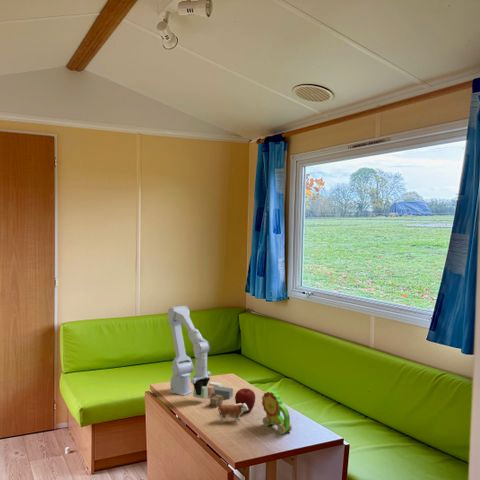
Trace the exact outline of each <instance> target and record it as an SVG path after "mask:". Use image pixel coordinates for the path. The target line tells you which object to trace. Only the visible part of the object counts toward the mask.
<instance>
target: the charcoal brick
mask: <svg viewBox="0 0 480 480" xmlns="http://www.w3.org/2000/svg"><path fill="white" fill-rule="evenodd" d="M233 394H234V389H233V387H225V386H222V387H217V388H216V389H215V392H214V394H213V395H214V396H215V395H221V396H223V399H226V400H231V398H232V397H233V396H234V395H233ZM214 396H213V397H214Z"/></svg>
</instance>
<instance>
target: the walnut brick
mask: <svg viewBox="0 0 480 480" xmlns="http://www.w3.org/2000/svg"><path fill="white" fill-rule="evenodd" d="M214 395H215V394H214ZM223 399H224V398H223V396H221V395H215V396H212V397H210V400H209V407H211V408H214V409H216V408H217V409H218V407H219V406H220V405H224V403H223V402H224V400H223Z"/></svg>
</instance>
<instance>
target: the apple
mask: <svg viewBox="0 0 480 480" xmlns="http://www.w3.org/2000/svg"><path fill="white" fill-rule="evenodd" d="M234 398H235V399H234V400H235V401H234V402H235V404H239V403H241V404H243V403H246V405H247V407H248V409H249V410H248V411H243V413H247V412H248V413H249V412H250V411H252V410H253V409H254V407H255V403H256V393H255V392H254V391H253V390H252V389H250V388H247V387H246V388H245V387H244V388H240V389H238V390H237V392H236V393H235V397H234Z"/></svg>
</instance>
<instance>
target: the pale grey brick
mask: <svg viewBox="0 0 480 480" xmlns="http://www.w3.org/2000/svg"><path fill="white" fill-rule="evenodd" d="M208 385H210V386H214V393H215V389H216V388H217V387H223V383H221V382H218V381H217V382H216V381H211V382H208Z"/></svg>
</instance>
